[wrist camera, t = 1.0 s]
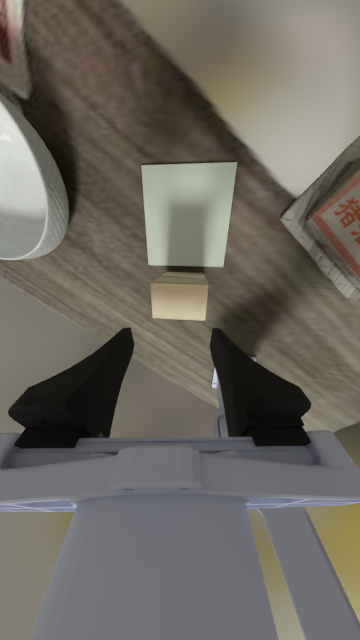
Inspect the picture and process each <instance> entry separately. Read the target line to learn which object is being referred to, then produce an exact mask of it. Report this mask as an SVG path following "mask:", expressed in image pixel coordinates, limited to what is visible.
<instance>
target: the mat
mask: <svg viewBox="0 0 360 640" xmlns="http://www.w3.org/2000/svg"><path fill="white" fill-rule="evenodd" d="M141 167H142V181H143V195H144V209H145V222H146V236H147V250H148V264H149V265H166V266H207V267H223V265H224V257H225V250H226V242H227V235H228V228H229V220H230V213H231V205H232V198H233V191H234V183H235V176H236V168H237V162H227V163H196V164H166V165H141Z"/></svg>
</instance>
